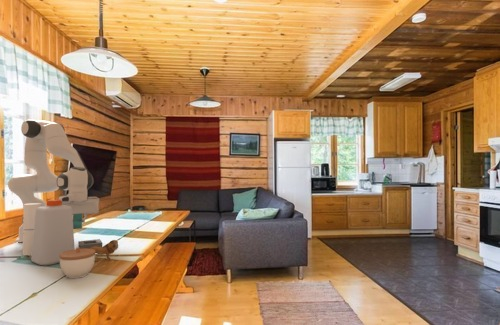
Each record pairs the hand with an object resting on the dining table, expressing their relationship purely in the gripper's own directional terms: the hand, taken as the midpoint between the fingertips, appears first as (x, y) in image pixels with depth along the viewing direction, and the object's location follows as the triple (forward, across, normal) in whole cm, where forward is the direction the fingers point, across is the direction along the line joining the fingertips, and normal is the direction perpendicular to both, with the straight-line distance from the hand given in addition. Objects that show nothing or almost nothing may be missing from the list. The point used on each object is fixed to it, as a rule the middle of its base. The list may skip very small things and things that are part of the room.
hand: (77, 222), depth 163 cm
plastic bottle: (+14, +11, +18) cm, 25 cm away
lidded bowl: (+13, +3, +47) cm, 49 cm away
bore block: (+13, -5, +12) cm, 18 cm away
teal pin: (+3, 0, 0) cm, 3 cm away
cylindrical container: (+14, +20, 0) cm, 24 cm away
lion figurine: (+13, -8, +30) cm, 34 cm away
